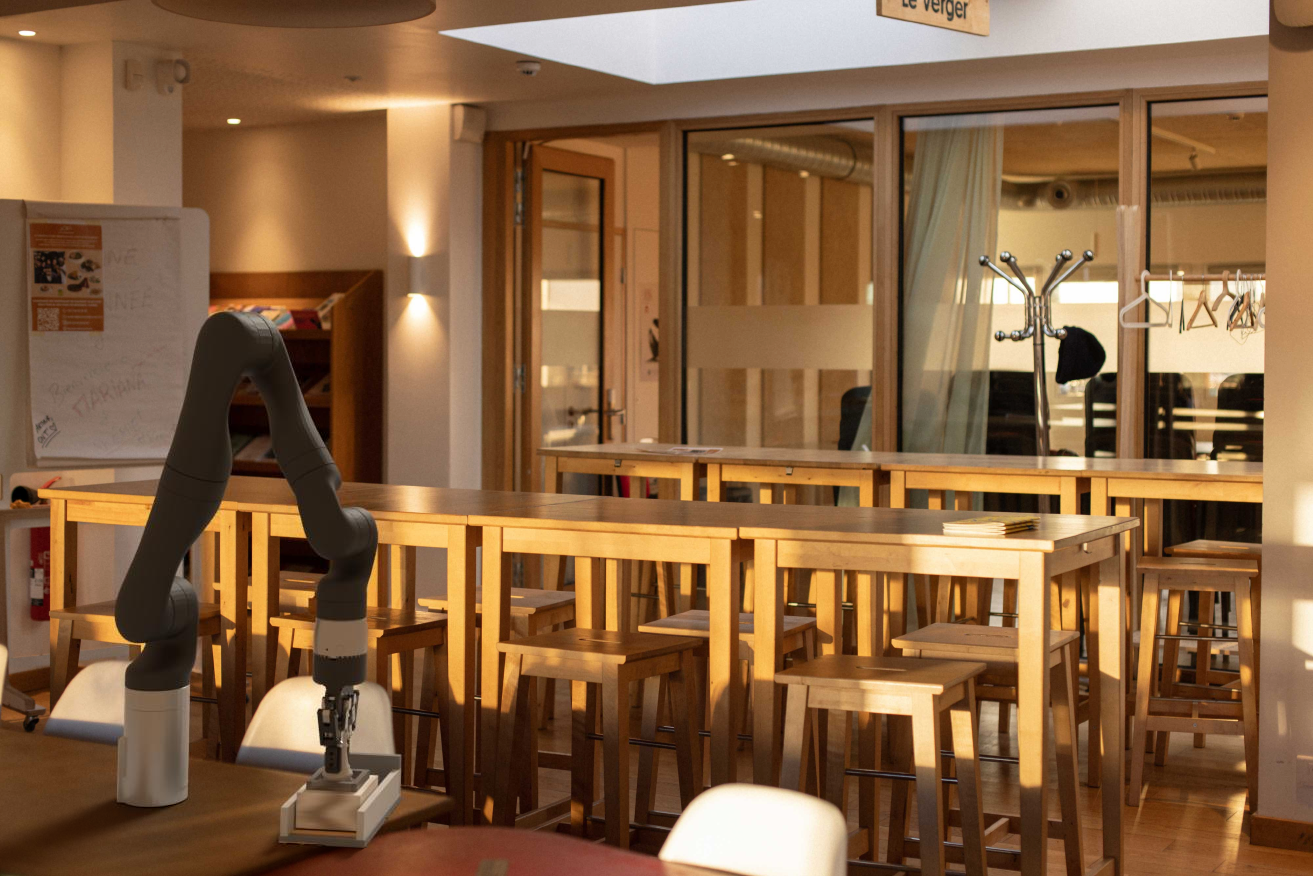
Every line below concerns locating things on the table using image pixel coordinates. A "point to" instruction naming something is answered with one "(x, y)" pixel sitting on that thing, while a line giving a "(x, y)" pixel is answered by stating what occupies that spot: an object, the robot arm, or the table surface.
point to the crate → (333, 801)
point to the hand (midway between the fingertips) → (337, 768)
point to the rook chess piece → (346, 771)
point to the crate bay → (368, 813)
